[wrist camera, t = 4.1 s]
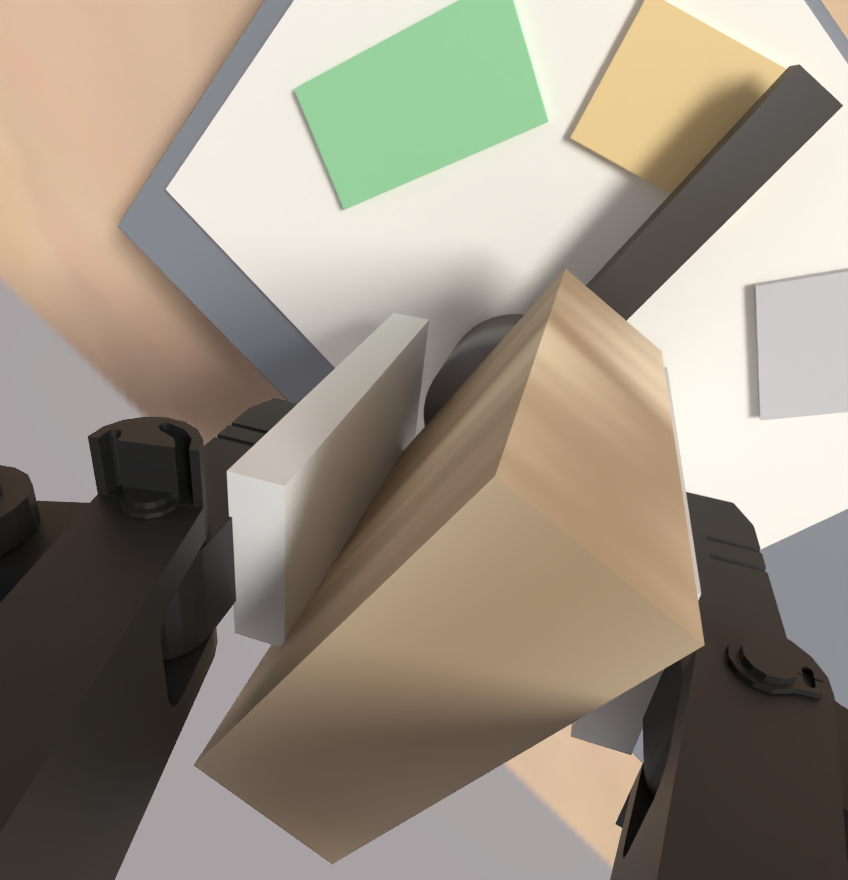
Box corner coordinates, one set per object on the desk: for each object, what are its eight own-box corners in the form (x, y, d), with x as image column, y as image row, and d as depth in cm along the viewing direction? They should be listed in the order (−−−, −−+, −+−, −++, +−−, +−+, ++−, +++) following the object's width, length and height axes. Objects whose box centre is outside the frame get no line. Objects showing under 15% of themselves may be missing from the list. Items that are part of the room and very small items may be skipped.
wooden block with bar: (387, 426, 16) (161, 741, 8) (730, 19, 10) (1025, -193, 3) (487, 507, 16) (362, 885, 8) (871, 151, 11) (1489, 292, 3)
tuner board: (167, 213, 17) (106, 229, 15) (551, -337, 11) (534, -437, 9) (669, 738, 21) (674, 805, 19) (1174, 566, 15) (1262, 642, 13)
